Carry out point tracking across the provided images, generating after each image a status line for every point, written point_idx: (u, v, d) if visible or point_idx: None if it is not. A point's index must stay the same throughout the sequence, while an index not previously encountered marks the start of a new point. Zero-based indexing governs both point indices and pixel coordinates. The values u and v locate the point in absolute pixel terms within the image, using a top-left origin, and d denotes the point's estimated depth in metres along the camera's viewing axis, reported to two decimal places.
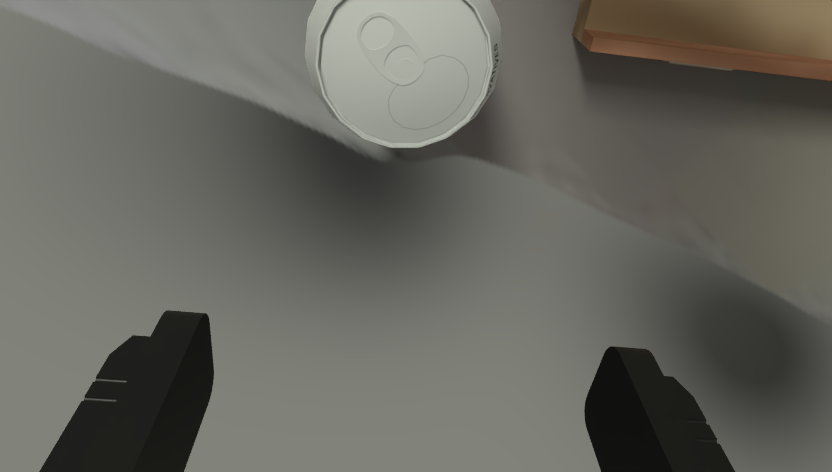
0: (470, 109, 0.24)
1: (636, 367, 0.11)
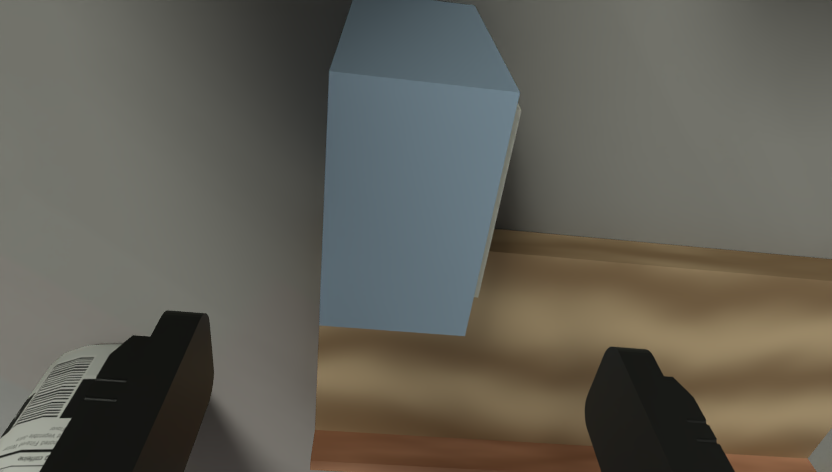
0: None
1: (636, 367, 0.11)
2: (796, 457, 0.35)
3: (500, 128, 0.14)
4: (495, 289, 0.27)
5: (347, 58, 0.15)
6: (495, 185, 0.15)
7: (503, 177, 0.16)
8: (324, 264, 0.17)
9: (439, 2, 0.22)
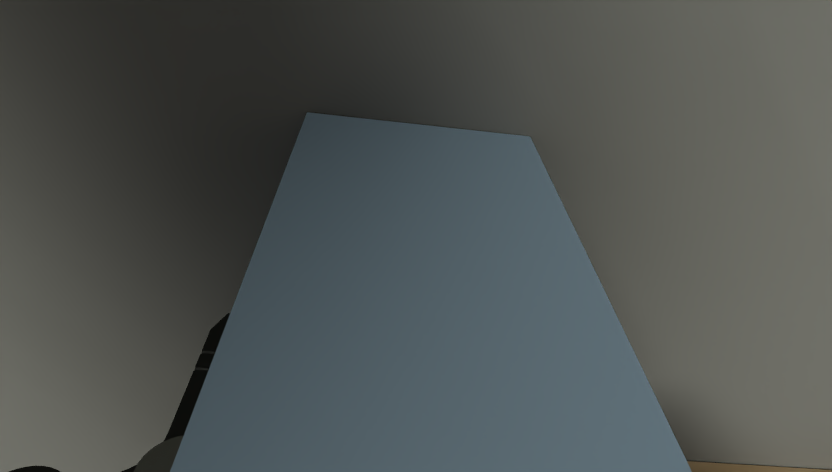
0: None
1: None
2: None
3: None
4: None
5: None
6: None
7: None
8: None
9: (465, 134, 0.12)
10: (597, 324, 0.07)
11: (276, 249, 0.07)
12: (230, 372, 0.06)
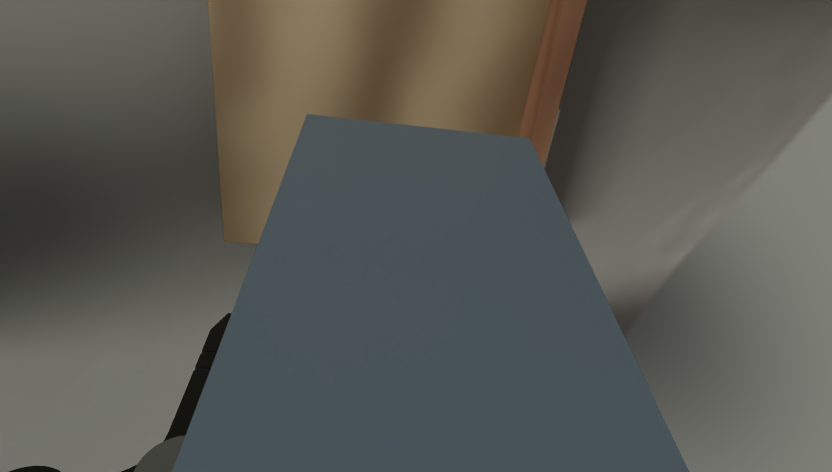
0: None
1: None
2: None
3: None
4: (265, 80, 0.24)
5: None
6: None
7: None
8: None
9: (464, 136, 0.12)
10: (596, 326, 0.07)
11: (276, 252, 0.07)
12: (230, 375, 0.06)
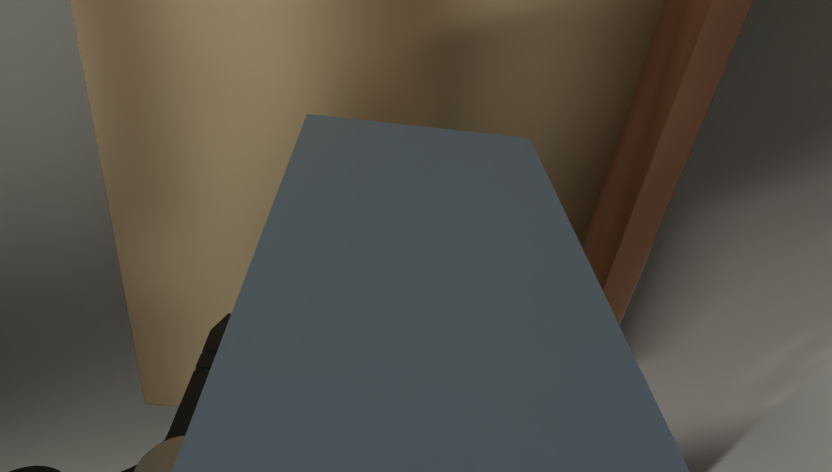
0: None
1: None
2: None
3: None
4: (188, 198, 0.15)
5: None
6: None
7: None
8: None
9: (465, 136, 0.12)
10: (596, 326, 0.07)
11: (276, 251, 0.07)
12: (230, 375, 0.06)
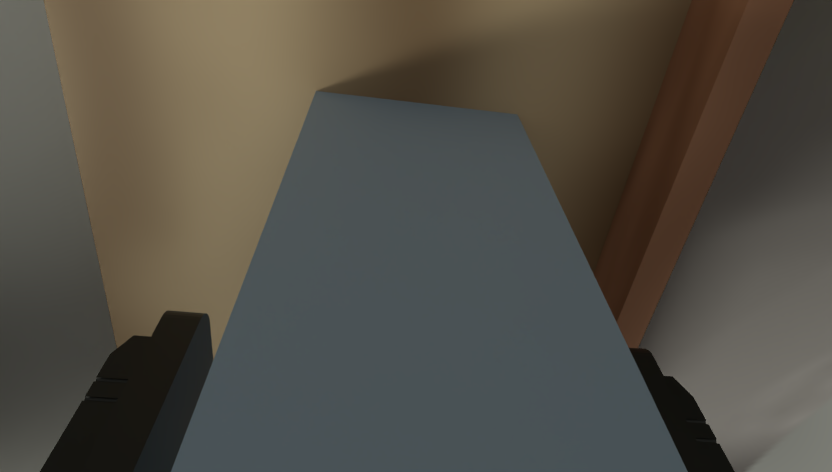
0: None
1: None
2: None
3: None
4: (175, 218, 0.14)
5: (235, 399, 0.05)
6: None
7: None
8: None
9: (458, 111, 0.13)
10: (566, 259, 0.08)
11: (293, 197, 0.09)
12: (260, 284, 0.07)
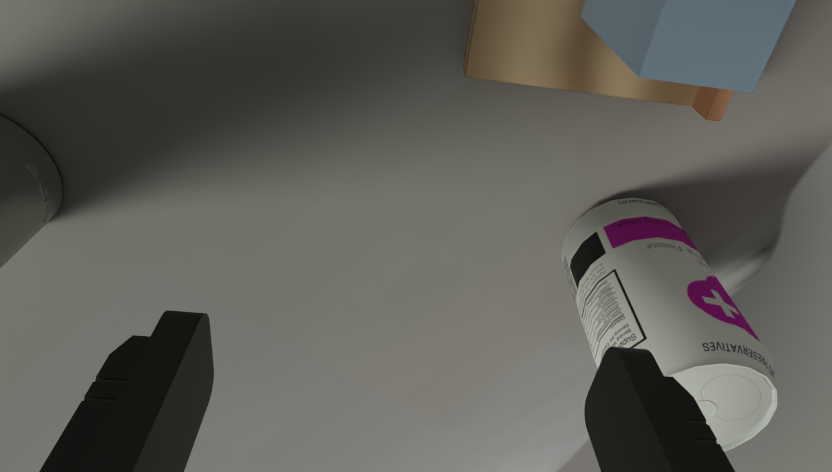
0: (756, 370, 0.27)
1: (636, 367, 0.11)
2: None
3: None
4: None
5: None
6: None
7: None
8: (663, 14, 0.21)
9: None
10: None
11: None
12: None
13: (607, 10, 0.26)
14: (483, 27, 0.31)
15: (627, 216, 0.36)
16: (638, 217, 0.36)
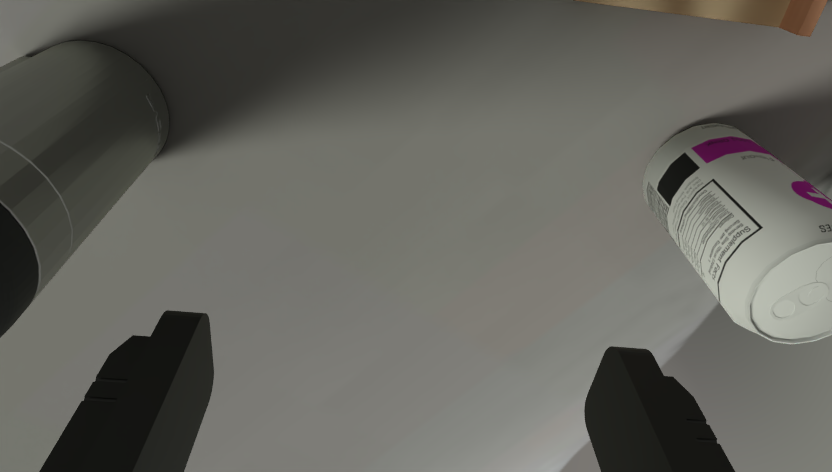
0: None
1: (636, 367, 0.11)
2: None
3: None
4: None
5: None
6: None
7: None
8: None
9: None
10: None
11: None
12: None
13: None
14: None
15: (714, 137, 0.39)
16: (724, 137, 0.38)
